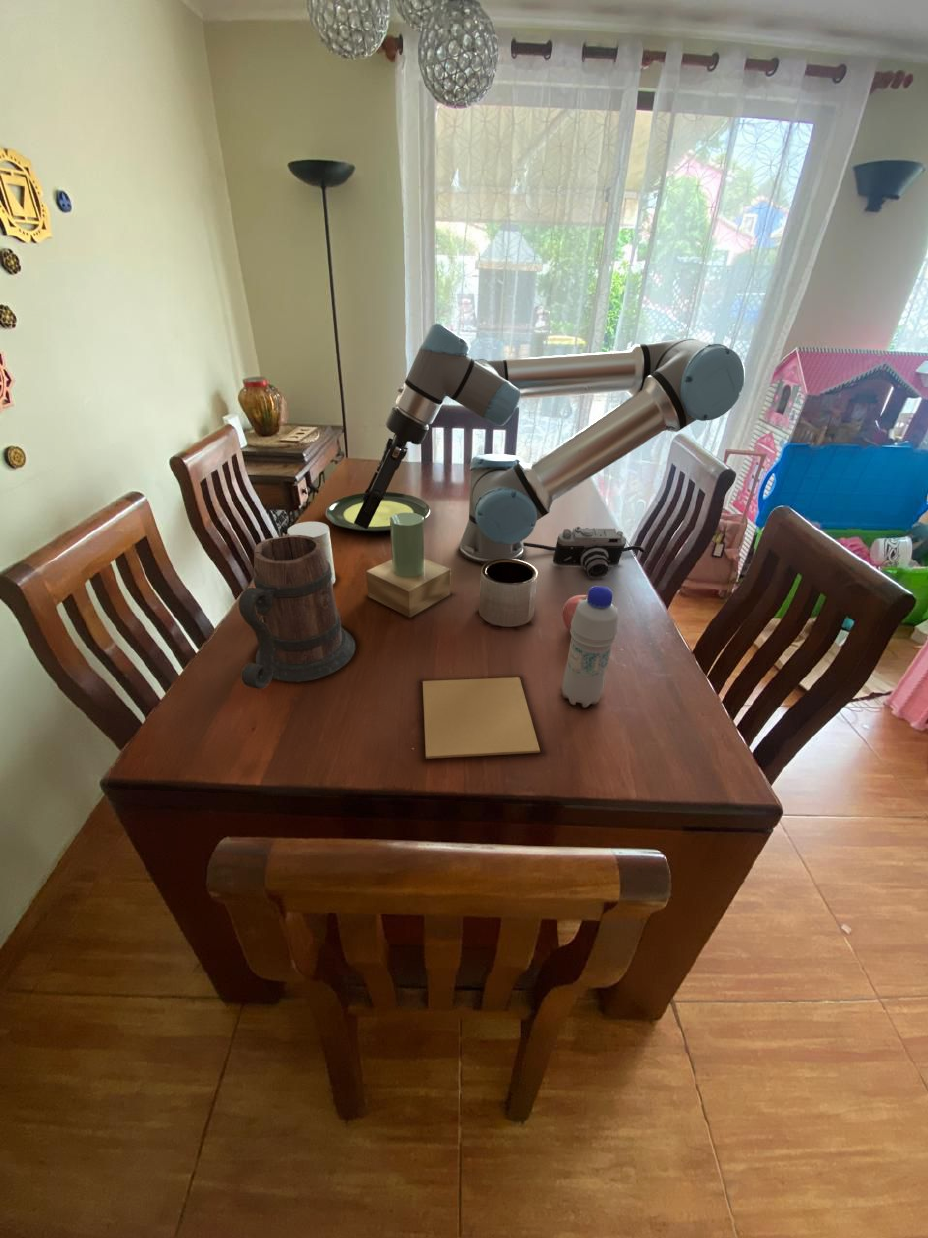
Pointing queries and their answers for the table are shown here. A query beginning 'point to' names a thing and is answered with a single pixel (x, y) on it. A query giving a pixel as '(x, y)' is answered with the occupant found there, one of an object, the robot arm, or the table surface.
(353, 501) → the plate
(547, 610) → the table surface
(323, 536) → the cup
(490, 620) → the planter
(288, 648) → the tankard
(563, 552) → the camera
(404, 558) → the canister
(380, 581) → the plate
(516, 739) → the cork mat
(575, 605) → the apple
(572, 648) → the bottle
